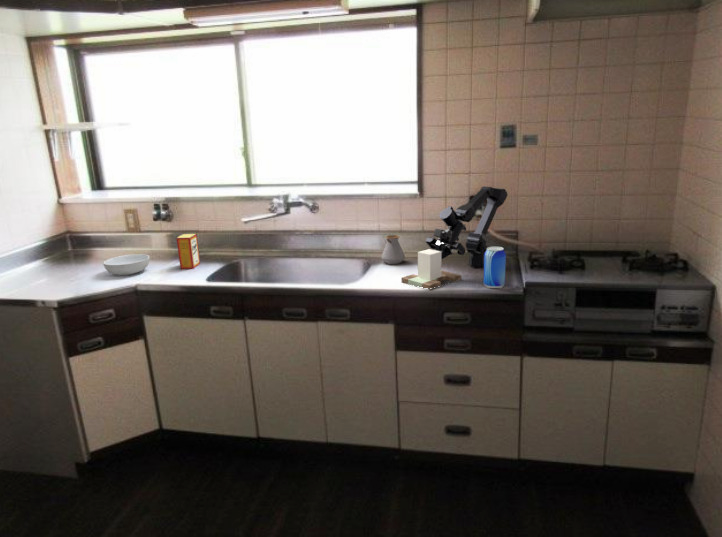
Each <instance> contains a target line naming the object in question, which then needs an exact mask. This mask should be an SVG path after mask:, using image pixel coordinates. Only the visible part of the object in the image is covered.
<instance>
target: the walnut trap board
mask: <svg viewBox="0 0 722 537" xmlns="http://www.w3.org/2000/svg"><path fill="white" fill-rule="evenodd" d="M415 277H418V274H410V275H406V276H403V277H401V279H400V280H401V283H403V284H406V285H409V284H408V279H412V278H415ZM436 279H437V281H436V280H431V281H428V282H425V283H422V287H423V288H422V289H424V288H428V289H430V288H434V287H437V288H439V287H438V286H440V287H443V286H446V285H449V284H451V283H455V282H459V281H460V280H462V275H461V274H459V273H458V274H457V273H453V272H450V271H445V270H442V269H441V277H439V278H436ZM448 283H449V284H448ZM445 284H446V285H445ZM442 285H443V286H442ZM434 289H435V288H434Z"/></svg>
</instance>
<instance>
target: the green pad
mask: <svg viewBox="0 0 722 537" xmlns="http://www.w3.org/2000/svg"><path fill="white" fill-rule="evenodd" d="M433 280H436V281H437V279H433ZM428 281H431V280H427V279H423V278H420V277H415V278H412V279H408V284H407V285H411V286H413V285H414V286H415V287H417V286H419V287H418V288H420V287H422V283H425V282H428Z"/></svg>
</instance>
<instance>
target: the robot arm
mask: <svg viewBox="0 0 722 537" xmlns="http://www.w3.org/2000/svg"><path fill="white" fill-rule="evenodd" d="M507 198H508V191H506V189H505V188H497V187H492V186H482V187H481V188H480V190H479V191H477V193H476V194H475V195H474V196H473V197H472V198H471V199H470V200H469V201H468V202H467V203H465V204H463V205H460V206H459V207H457V208H456V209H454V207H453V206H447V207H446V208H444V209H442V210H441V211H440V212H439V218H440V219H441V221H442V223H444V225H445V226H446V227H448V228H446V229H439V228H435V230H434V233H433V237H431V236H429V237H427V238H426V239H425V243H426V245H427V246H428V247H429V249H431V250H436V251H441V261H443V259H445V258H447V257H448V256H450V255H451V256H452V255H453V251H456V252H457V255H459V256H464V255H465V254H466V251H467V253H469V258H468V263H467V265H468V266H470V267H471V268H473V269H480V268H484V253H485V252H486V250H487V248H488V247H489V246H487V234H488V231H489V230H490V226H491V224H492V222H493V219H494V217H495V215H496V212H497V211H498V209H499V207H501V206H503V204H504V203H505V202H506V199H507ZM484 202H487V204H486V206H485V209H484V211H483V213H482V215H481V218H480V220H479V222H478V225H477V227H476V228H475V231H474V232H472V231H471V232H469V234H468V236H467V238H466V239H465V240H466V241H465V246H466V247H464V245H463V244H462V243H461V242H459V240H460V238H459V236H460V235H461V233H462V231H467V226H466V223H470V222H471V221H472V219H474V217H475V214H476V211H477V210H478V209H479V208H480V206H482V205H483V204H484ZM463 222H465V223H463ZM436 238H437V239H438V240H437V239H436Z"/></svg>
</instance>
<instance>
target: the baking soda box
mask: <svg viewBox="0 0 722 537" xmlns="http://www.w3.org/2000/svg"><path fill="white" fill-rule="evenodd" d="M176 244H177V251H178V261H179V265H180V266H179V267H180V270H194V269H195V268H197V267H198V266H199V265H200V264H201V260H200V252H199V243H198V237H197V233H183V234H180V235H179V236H177V237H176Z"/></svg>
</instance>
